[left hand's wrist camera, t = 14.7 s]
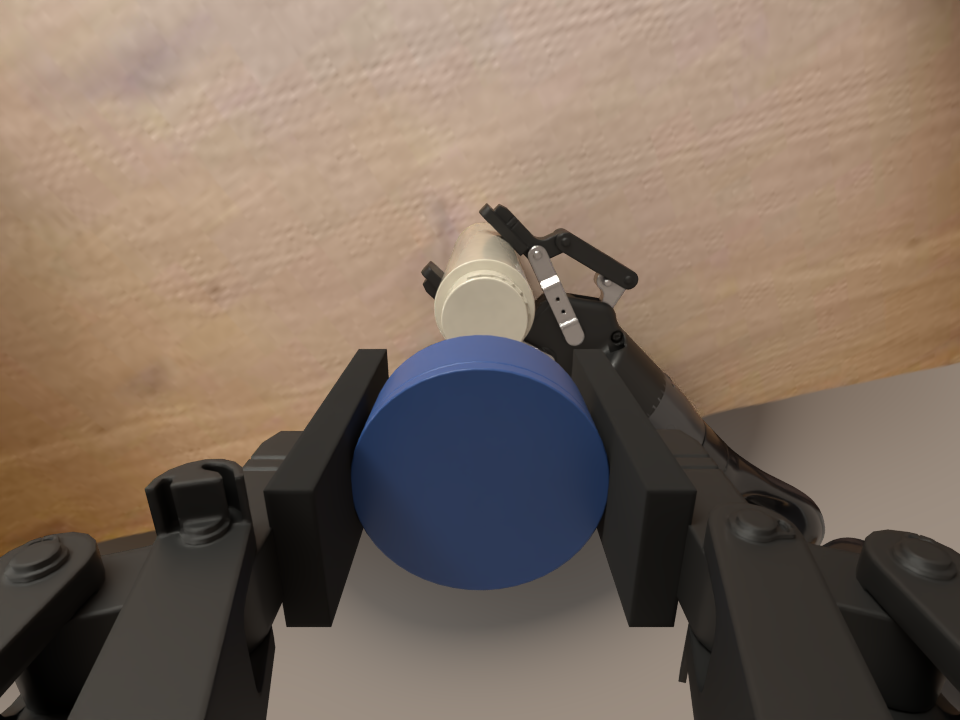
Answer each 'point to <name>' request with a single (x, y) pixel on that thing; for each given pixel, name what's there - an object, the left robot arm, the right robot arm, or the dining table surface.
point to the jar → (484, 288)
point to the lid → (480, 465)
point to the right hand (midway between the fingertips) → (454, 239)
